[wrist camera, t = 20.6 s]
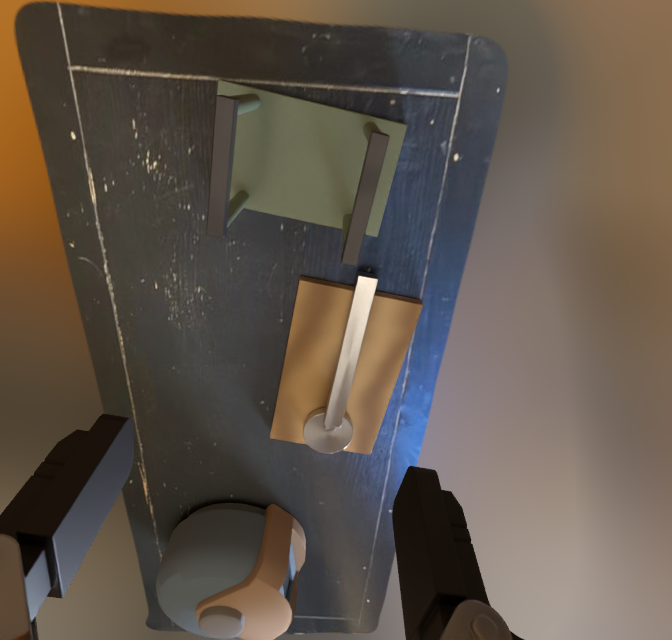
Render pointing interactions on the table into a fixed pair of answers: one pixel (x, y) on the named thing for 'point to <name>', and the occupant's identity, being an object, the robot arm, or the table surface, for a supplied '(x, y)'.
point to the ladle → (342, 374)
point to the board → (322, 352)
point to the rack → (300, 163)
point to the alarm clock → (233, 572)
